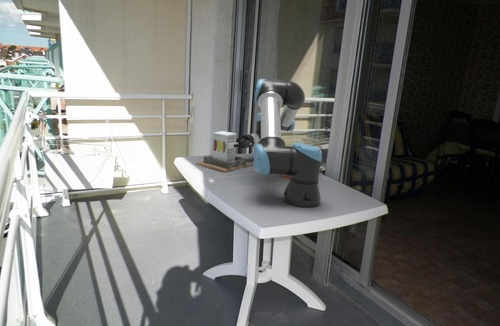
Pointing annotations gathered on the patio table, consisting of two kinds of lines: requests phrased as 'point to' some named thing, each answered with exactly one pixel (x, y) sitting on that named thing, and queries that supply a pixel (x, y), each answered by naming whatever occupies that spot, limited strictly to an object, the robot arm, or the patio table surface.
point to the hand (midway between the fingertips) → (220, 143)
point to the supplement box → (223, 146)
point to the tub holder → (224, 164)
